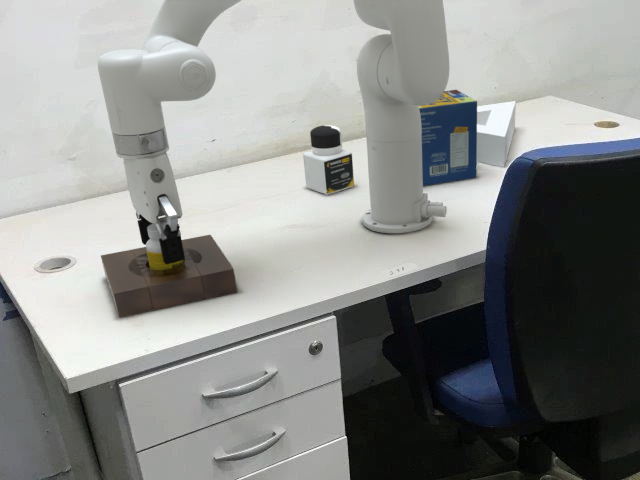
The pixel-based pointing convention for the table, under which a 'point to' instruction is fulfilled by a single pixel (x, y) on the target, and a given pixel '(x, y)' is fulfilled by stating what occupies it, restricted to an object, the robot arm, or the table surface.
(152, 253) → the supplement bottle
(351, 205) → the table surface
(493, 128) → the triangle block
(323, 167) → the medicine bottle
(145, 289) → the holder block
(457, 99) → the protein box
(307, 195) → the table surface
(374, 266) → the table surface
